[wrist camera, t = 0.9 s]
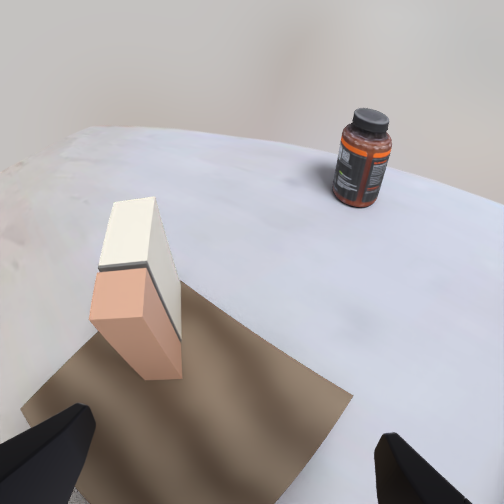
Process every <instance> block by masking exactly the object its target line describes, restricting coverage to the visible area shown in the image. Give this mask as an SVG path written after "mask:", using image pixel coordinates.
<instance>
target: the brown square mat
mask: <svg viewBox="0 0 504 504" xmlns="http://www.w3.org/2000/svg"><path fill="white" fill-rule="evenodd" d="M180 283H181V335H182V342H180V343H181V358H182V379H170V380H144V379H143V378H142V377H141V376H140V375H139V374H138V373H137V372H136V371H135V370H134V369H133V368H132V367H131V366H130V365H129V364H128V363H127V362H126V361H125V360H124V359H123V357H122V356H121V355H120V354H119V353H118V352H117V351H116V350H115V349H114V348H113V347H112V346H111V345H110V343H109V342H108V341H107V340H106V339H105V338H104V337H103V336H102V334H101V333H100V332H99V331H98V332H97V333H96V334H95V335H94V336H93V337H92V338H91V339H90V340H89V341H88V342H86V343H85V344H84V345H83V346H82V347H81V348H80V349H79V350H78V351H77V352H76V353H75V354H74V355H73V356H72V357H71V358H70V359H69V360H68V361H67V362H66V363H65V364H64V365H63V366H62V367H61V368H60V369H59V370H58V371H57V372H56V373H55V374H54V375H53V376H52V377H51V378H50V379H49V380H48V381H47V382H46V383H45V384H44V385H43V386H42V387H41V388H40V389H39V390H38V391H37V392H36V393H35V394H34V395H33V396H32V397H31V398H30V399H29V400H28V401H27V402H26V403H25V405H24V406H23V407H22V408H21V409H20V410H21V411H22V413H23V415H24V416H25V418H26V420H27V421H28V423H29V425H30V426H31V428H32V427H34V426H36V425H37V424H39V423H41V422H43V421H45V420H47V419H48V418H50V417H52V416H54V415H56V414H57V413H59V412H61V411H63V410H65V409H66V408H68V407H70V406H72V405H73V404H75V403H83V404H86V405H88V406H89V407H90V408H91V411H92V414H93V416H94V419H95V421H96V429H95V432H94V435H93V438H92V441H91V445H90V448H89V451H88V454H87V458H86V461H85V464H84V466H83V469H82V471H81V473H80V475H79V478H78V480H77V482H76V485H75V487H76V489H77V490H78V491H79V492H80V493H81V494H82V496H83V497H84V498H85V499H86V500H87V501H88V502H89V503H90V504H274V503H275V502H276V501H277V500H278V499H279V498H280V496H281V495H282V494H283V493H284V492H285V490H286V489H287V488H288V487H289V486H290V484H291V483H292V482H293V481H294V479H295V478H296V477H297V476H298V474H299V473H300V472H301V471H302V469H303V468H304V467H305V465H306V464H307V463H308V461H309V460H310V459H311V457H312V456H313V455H314V453H315V452H316V451H317V449H318V448H319V447H320V445H321V444H322V442H323V441H324V440H325V438H326V437H327V435H328V434H329V432H330V431H331V429H332V428H333V427H334V425H335V424H336V422H337V421H338V419H339V417H340V416H341V414H342V413H343V411H344V410H345V408H346V407H347V405H348V403H349V402H350V400H351V399H352V397H353V395H352V394H350V393H348V392H346V391H345V390H343V389H341V388H340V387H338V386H336V385H335V384H333V383H332V382H330V381H328V380H327V379H325V378H323V377H322V376H320V375H319V374H317V373H315V372H314V371H312V370H311V369H309V368H307V367H306V366H304V365H303V364H301V363H300V362H298V361H296V360H295V359H293V358H292V357H290V356H289V355H287V354H286V353H284V352H283V351H281V350H279V349H278V348H276V347H275V346H273V345H272V344H270V343H269V342H267V341H266V340H264V339H263V338H261V337H260V336H258V335H257V334H255V333H254V332H252V331H251V330H250V329H248V328H247V327H245V326H244V325H242V324H241V323H239V322H238V321H236V320H235V319H234V318H232V317H231V316H229V315H228V314H226V313H225V312H224V311H222V310H221V309H219V308H218V307H216V306H215V305H214V304H212V303H211V302H209V301H208V300H207V299H205V298H204V297H203V296H201V295H200V294H198V293H197V292H196V291H194V290H193V289H192V288H190V287H189V286H187V285H186V284H185V283H183V282H182V281H181V280H180Z"/></svg>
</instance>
